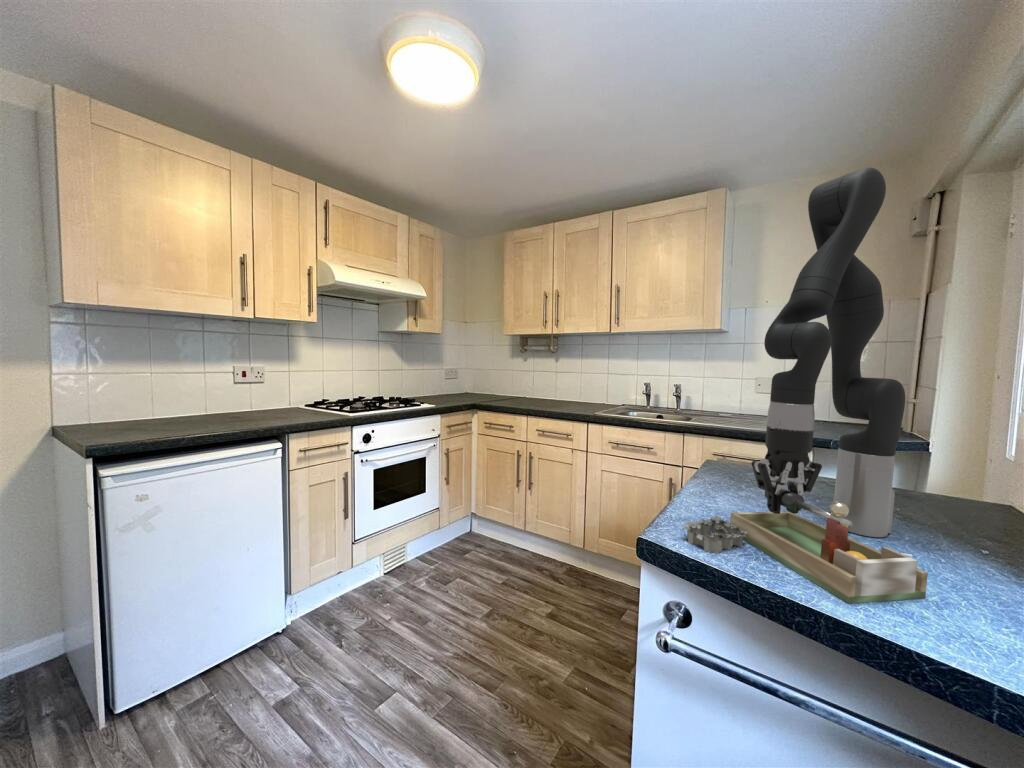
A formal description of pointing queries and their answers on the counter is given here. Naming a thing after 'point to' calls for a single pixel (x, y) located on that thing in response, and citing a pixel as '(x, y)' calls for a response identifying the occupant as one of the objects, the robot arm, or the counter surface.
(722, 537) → the egg carton
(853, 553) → the ball
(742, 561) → the counter surface
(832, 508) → the foosball player rod
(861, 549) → the wooden tray
